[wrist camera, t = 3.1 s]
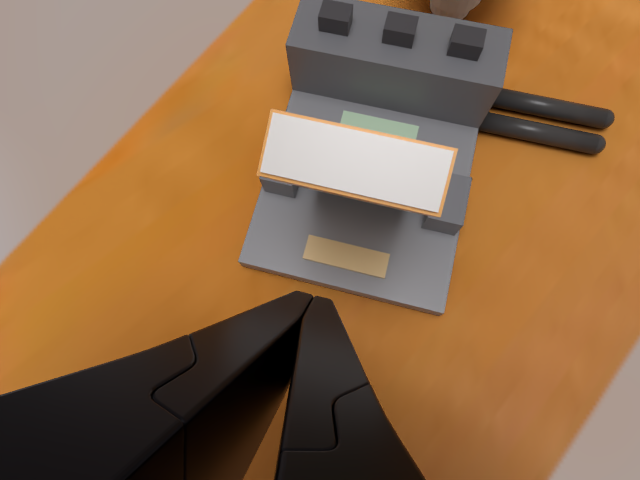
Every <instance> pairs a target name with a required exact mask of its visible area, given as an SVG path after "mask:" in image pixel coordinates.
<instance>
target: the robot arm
mask: <svg viewBox="0 0 640 480" xmlns="http://www.w3.org/2000/svg"><path fill="white" fill-rule="evenodd" d="M289 384H290V387H289ZM288 387H289V393H288V399H287V405H286V411H285V417H284V422H283V428H282V434H281V440H280V446H279V452H278V458H277V464H276V470H275V476H274V480H426V479H425V477H424V476H423V474H422V473H421V471H420V470H419V468H418V467H417V465H416V463H415V462H414V460H413V459H412V457H411V456H410V454H409V452H408V451H407V449H406V448H405V446H404V445H403V443H402V442H401V440H400V438H399V437H398V435H397V433H396V432H395V430H394V428H393V427H392V425H391V423H390V422H389V420H388V418H387V417H386V415H385V413H384V411H383V409H382V407H381V405H380V403H379V401H378V399H377V397H376V395H375V393H374V390H373V388H372V386H371V385H370V383H369V381H368V378H367V376H366V374H365V372H364V370H363V367H362V365H361V363H360V361H359V358H358V356H357V354H356V352H355V350H354V347H353V345H352V343H351V341H350V339H349V336H348V334H347V332H346V330H345V328H344V325H343V323H342V321H341V319H340V317H339V314H338V312H337V310H336V308H335V306H334V303H333V301H332V300H331V299H327V298H323V297H319V296H315V297H314V298H313V296H312V295H311V294H308V293H304V292H300V291H294V292H292V293H289V294H287V295H285V296H282V297H280V298H277V299H275V300H272V301H270V302H267V303H265V304H262V305H260V306H257V307H255V308H253V309H250V310H248V311H245V312H243V313H240V314H238V315H235V316H233V317H230V318H228V319H225V320H223V321H220V322H218V323H216V324H213V325H211V326H208V327H206V328H203V329H201V330H198V331H196V332H193V333H191V334H189V336H188V335H184V336H182V337H179V338H177V339H174V340H172V341H169V342H167V343H164V344H161V345H159V346H156V347H153V348H151V349H148V350H145V351H142V352H139V353H136V354H133V355H130V356H126V357H123V358H120V359H117V360H114V361H111V362H107V363H104V364H101V365H97V366H94V367H91V368H88V369H84V370H81V371H78V372H75V373H71V374H68V375H65V376H61V377H58V378H55V379H52V380H48V381H45V382H42V383H38V384H35V385H32V386H29V387H25V388H22V389H19V390H16V391H12V392H9V393H6V394H2V395H0V480H243V478H244V476H245V474H246V472H247V470H248V468H249V466H250V464H251V462H252V460H253V458H254V456H255V454H256V452H257V450H258V448H259V446H260V444H261V442H262V440H263V438H264V436H265V434H266V432H267V430H268V428H269V426H270V424H271V422H272V420H273V418H274V416H275V414H276V412H277V410H278V408H279V405H280V403H281V401H282V399H283V397H284V395H285V393H286V391H287V389H288Z"/></svg>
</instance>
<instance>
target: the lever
mask: <svg viewBox="0 0 640 480" xmlns="http://www.w3.org/2000/svg"><path fill="white" fill-rule="evenodd" d="M457 152H458V148H453V147H448V146H444V145H439V144H434V143H430V142H425V141H420V140H416V139H411V138H406V137H402V136H397V135H392V134H387V133H383V132H378V131H373V130H369V129H364V128H359V127H355V126H350V125H345V124H341V123H336V122H331V121H327V120H322V119H317V118H313V117H308V116H303V115H299V114H294V113H289V112H285V111H280V110H275V109H271V111H270V115H269V120H268V125H267V129H266V134H265V138H264V143H263V148H262V152H261V157H260V162H259V166H258V171H257V175H258V176H261V177H265V178H268V179H271V180H275V181H279V182H283V183H288V184H292V185H296V186H301V187H305V188H308V189H312V190H316V191H320V192H325V193H329V194H333V195H338V196H342V197H346V198H351V199H355V200H359V201H364V202H368V203H372V204H377V205H381V206H385V207H390V208H394V209H398V210H403V211H407V212H413V213H418V214H422V215H426V216H431V217H441V214H442V210H443V206H444V202H445V198H446V195H447V191H448V187H449V183H450V179H451V175H452V171H453V167H454V163H455V159H456V155H457Z"/></svg>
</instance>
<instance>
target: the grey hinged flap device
mask: <svg viewBox="0 0 640 480" xmlns="http://www.w3.org/2000/svg"><path fill="white" fill-rule="evenodd" d="M512 32H513V29H510V28H505V27H499V26H494V25H488V24H483V23H477V22H472V21H467V20H461V19H456V18H450V17H445V16H439V15H434V14H429V13H423V12H418V11H412V10H407V9H401V8H396V7H390V6H385V5H380V4H374V3H369V2H363V1H358V0H300V3H299V6H298V9H297V12H296V15H295V18H294V21H293V24H292V27H291V30H290V33H289V36H288V39H287V42H286V51H287V57H288V64H289V70H290V76H291V82H292V89H293V90H292V94H291V97H290V100H289V103H288V106H287V109H286V112H289V113H294V114H299V115H303V116H308V117H313V118H317V119H322V120H327V121H331V122H336V123H341V124H345V125H350V126H355V127H359V128H364V129H369V130H373V131H378V132H383V133H387V134H392V135H397V136H402V137H406V138H411V139H416V140H420V141H425V142H430V143H434V144H439V145H444V146H448V147H453V148H458V152H457V155H456V159H455V163H454V167H453V171H452V175H451V179H450V183H449V187H448V191H447V195H446V198H445V202H444V206H443V210H442V214H441V217H431V216H426V215H422V214H418V213H413V212H407V211H403V210H398V209H394V208H390V207H385V206H381V205H377V204H372V203H368V202H364V201H359V200H355V199H351V198H346V197H342V196H338V195H333V194H329V193H325V192H320V191H316V190H312V189H308V188H305V187H301V186H296V185H292V184H288V183H283V182H279V181H275V180H271V179H268V178H265V177H261V176H260V178H259V179H260V182H261V184H262V188H261V191H260V194H259V198H258V201H257V204H256V207H255V210H254V213H253V216H252V220H251V223H250V226H249V229H248V232H247V235H246V238H245V242H244V245H243V248H242V251H241V254H240V257H239V261H238V262H239V263H240V264H241V265H242V266H244V267H248V268H252V269H256V270H260V271H264V272H268V273H272V274H276V275H280V276H284V277H288V278H291V279H295V280H299V281H303V282H307V283H311V284H315V285H319V286H323V287H327V288H331V289H335V290H339V291H343V292H347V293H351V294H355V295H359V296H363V297H366V298H370V299H374V300H378V301H382V302H386V303H390V304H394V305H398V306H402V307H406V308H410V309H414V310H418V311H422V312H426V313H430V314H434V315H438V316H440V315H442V314H444V310H445V305H446V300H447V294H448V289H449V284H450V278H451V273H452V268H453V262H454V257H455V252H456V246H457V241H458V236H459V230H460V229H461V228H462V226H463V224H464V219H465V213H466V208H467V202H468V197H469V192H470V186H471V181H472V178H471V177H470V172H471V167H472V161H473V156H474V151H475V145H476V140H477V135H478V130H479V131H484V132H489V133H493V134H498V135H503V136H508V137H513V138H517V139H522V140H527V141H532V142H537V143H541V144H546V145H551V146H556V147H560V148H565V149H570V150H575V151H580V152H584V153H589V154H597V153H600V152H601V151H602V150H603V149H604V148H605V146H606V141H605V139H604V137H602V136H601V135H598V134H593V133H588V132H583V131H578V130H573V129H568V128H563V127H559V126H554V125H549V124H544V123H539V122H534V121H529V120H524V119H519V118H514V117H509V116H505V115H500V114H495V113H490V112H489V110H490V109H491V107H497V108H502V109H507V110H511V111H516V112H521V113H526V114H531V115H536V116H541V117H546V118H551V119H556V120H561V121H566V122H571V123H576V124H581V125H586V126H590V127H595V128H601V129H602V128H607V127H609V126H610V125H611V124H612V123H613V122H614V118H615V116H614V113H613V112H612V111H611V110H608V109H604V108H599V107H594V106H589V105H584V104H579V103H574V102H569V101H564V100H559V99H554V98H549V97H544V96H539V95H533V94H528V93H523V92H518V91H513V90H508V89H503V83H504V78H505V72H506V66H507V61H508V55H509V49H510V44H511V38H512Z"/></svg>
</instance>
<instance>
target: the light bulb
mask: <svg viewBox="0 0 640 480" xmlns="http://www.w3.org/2000/svg"><path fill="white" fill-rule="evenodd" d="M480 1H481V0H430V9H431V12H432V13H433V14H434V15H439V16H445V17H450V18H456V19H461V20H462V19H463V18H465V17H466V16H467V14H468V13H469V11H470V10H472V9H473V8H475V7H476V6H477V5H478V4H479V3H480Z"/></svg>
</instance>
